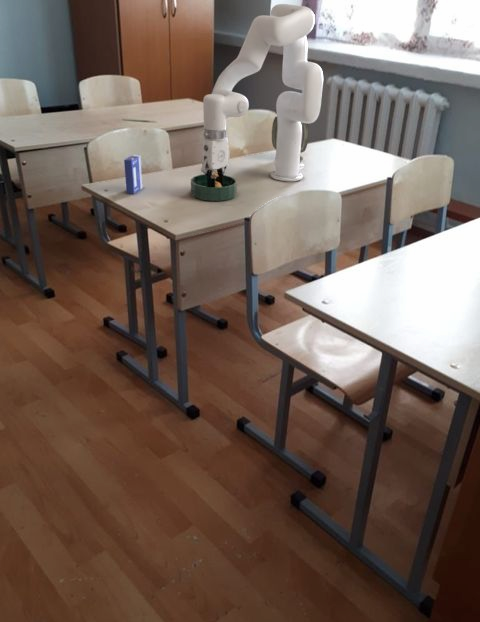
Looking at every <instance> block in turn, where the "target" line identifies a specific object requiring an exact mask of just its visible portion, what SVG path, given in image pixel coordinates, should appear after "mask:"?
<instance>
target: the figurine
mask: <svg viewBox="0 0 480 622" xmlns="http://www.w3.org/2000/svg"><path fill="white" fill-rule="evenodd" d="M207 168H209V166H207ZM213 171H214V176H215V177H214V178H215V179H216V178H217V177H218V174H217V170H213ZM209 172H210V173H211V170H209ZM215 187H222V185H221V184H220V183H219V182H216V181H215Z"/></svg>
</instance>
